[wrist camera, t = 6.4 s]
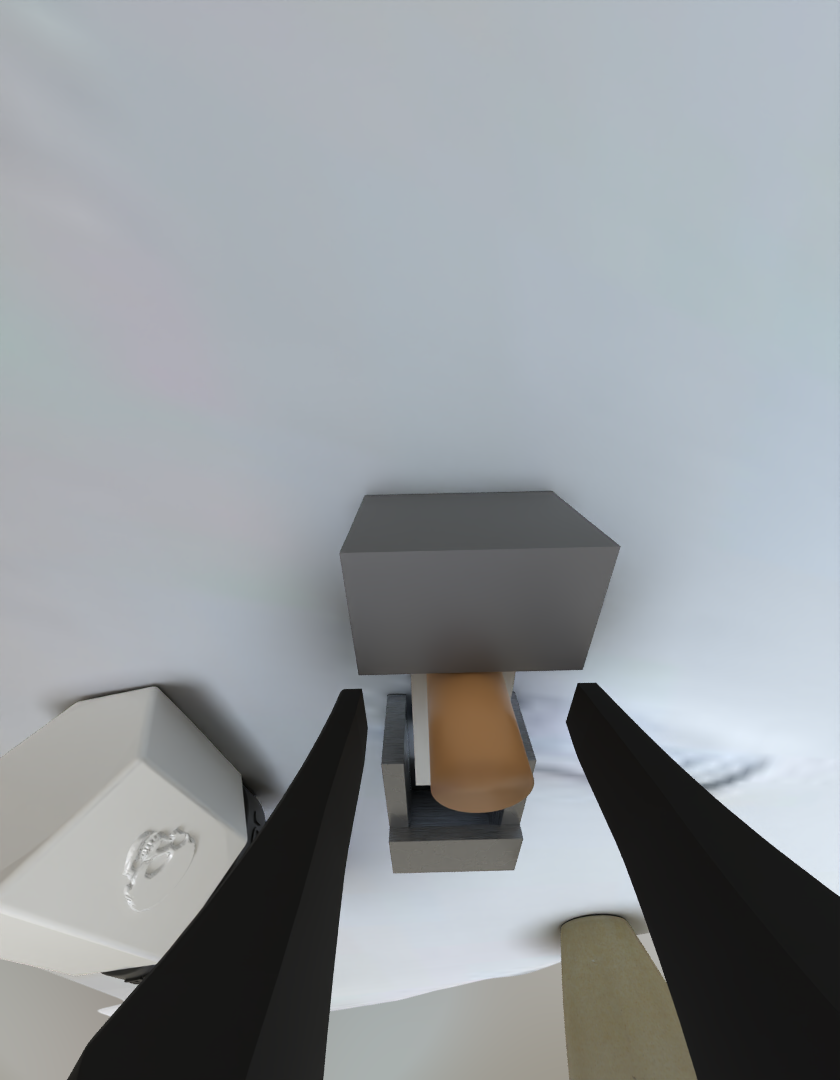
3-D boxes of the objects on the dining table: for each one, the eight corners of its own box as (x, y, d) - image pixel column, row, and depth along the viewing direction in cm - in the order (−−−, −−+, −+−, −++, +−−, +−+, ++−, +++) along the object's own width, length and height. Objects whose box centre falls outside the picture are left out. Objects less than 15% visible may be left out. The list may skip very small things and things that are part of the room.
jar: (195, 708, 15) (298, 817, 20) (123, 664, 19) (226, 765, 24) (-141, 1029, 8) (152, 1054, 14) (-142, 855, 12) (86, 931, 18)
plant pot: (533, 904, 32) (625, 1317, 18) (679, 898, 32) (890, 1313, 18) (520, 947, 39) (580, 1272, 25) (640, 943, 39) (771, 1268, 25)
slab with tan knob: (484, 724, 18) (519, 895, 12) (416, 726, 18) (415, 898, 12) (509, 518, 12) (600, 651, 6) (407, 520, 12) (399, 656, 6)
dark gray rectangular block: (534, 587, 14) (582, 669, 10) (374, 591, 14) (358, 675, 10) (552, 491, 12) (620, 546, 8) (364, 495, 12) (339, 552, 8)
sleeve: (496, 795, 22) (512, 877, 19) (397, 798, 22) (394, 880, 19) (514, 691, 17) (541, 775, 14) (387, 694, 17) (379, 779, 14)
